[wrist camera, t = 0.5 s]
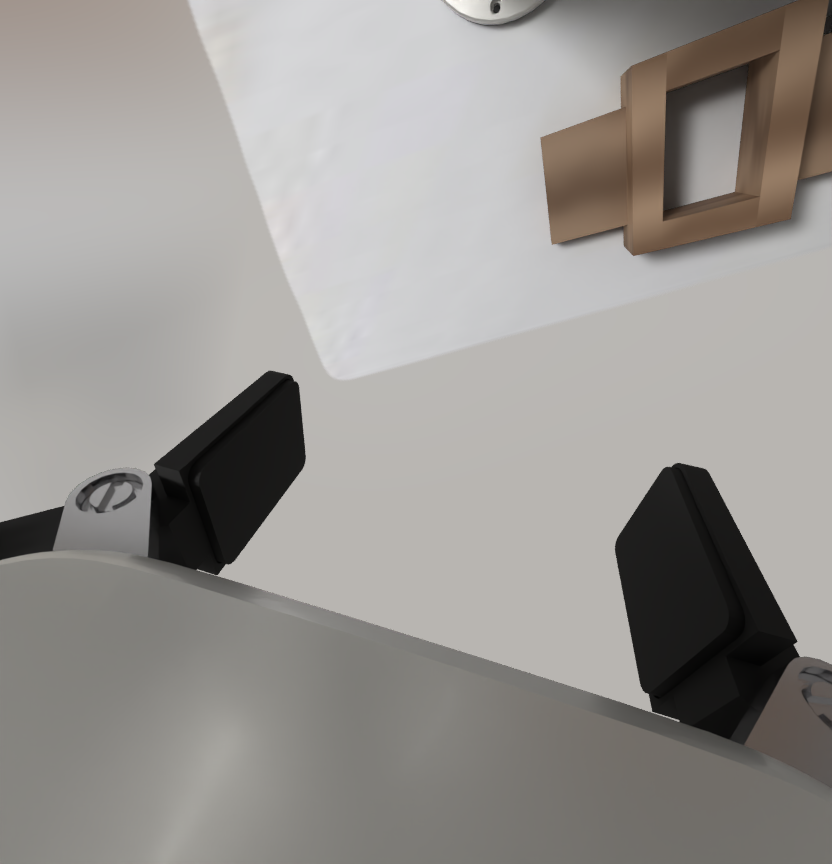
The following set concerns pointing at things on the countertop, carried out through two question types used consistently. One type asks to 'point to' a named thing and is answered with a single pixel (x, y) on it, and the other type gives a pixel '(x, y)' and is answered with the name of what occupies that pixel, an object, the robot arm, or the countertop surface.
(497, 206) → the countertop surface
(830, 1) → the bracket
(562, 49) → the countertop surface
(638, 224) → the socket
